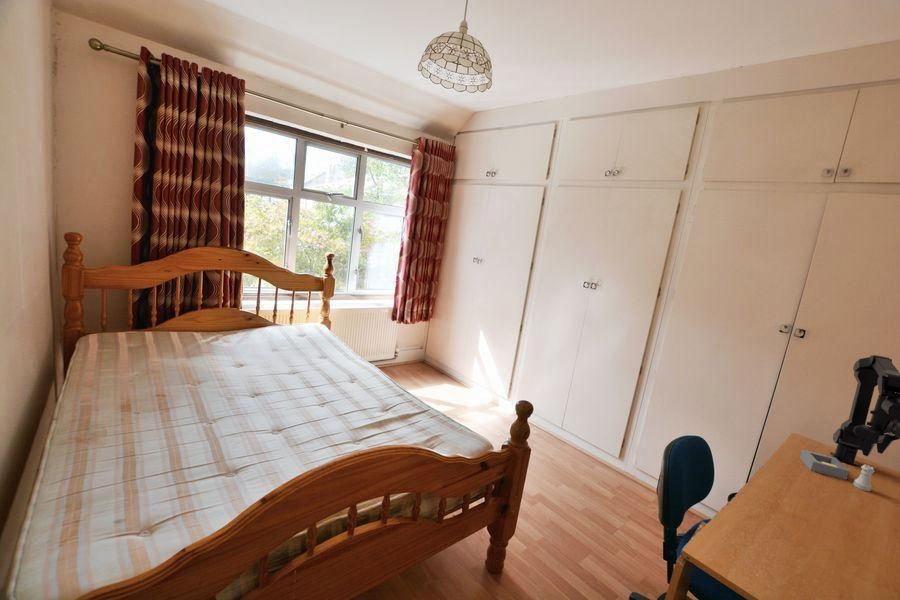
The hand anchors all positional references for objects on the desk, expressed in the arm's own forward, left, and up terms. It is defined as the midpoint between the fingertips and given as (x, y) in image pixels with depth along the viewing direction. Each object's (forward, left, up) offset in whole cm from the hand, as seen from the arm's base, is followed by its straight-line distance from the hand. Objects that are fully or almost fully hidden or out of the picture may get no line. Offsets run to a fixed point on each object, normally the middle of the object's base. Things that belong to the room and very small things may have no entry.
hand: (872, 454), depth 134 cm
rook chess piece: (0, 0, -13) cm, 13 cm away
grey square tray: (-8, -8, -12) cm, 17 cm away
